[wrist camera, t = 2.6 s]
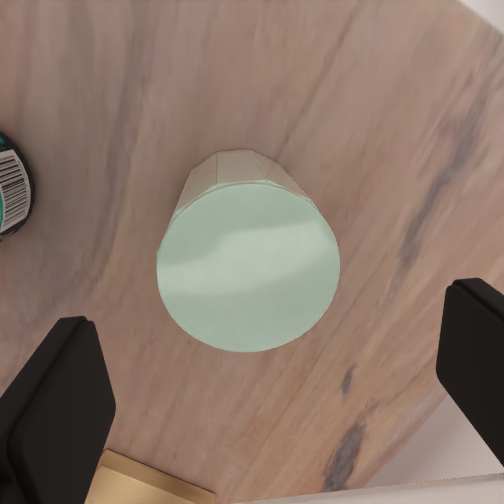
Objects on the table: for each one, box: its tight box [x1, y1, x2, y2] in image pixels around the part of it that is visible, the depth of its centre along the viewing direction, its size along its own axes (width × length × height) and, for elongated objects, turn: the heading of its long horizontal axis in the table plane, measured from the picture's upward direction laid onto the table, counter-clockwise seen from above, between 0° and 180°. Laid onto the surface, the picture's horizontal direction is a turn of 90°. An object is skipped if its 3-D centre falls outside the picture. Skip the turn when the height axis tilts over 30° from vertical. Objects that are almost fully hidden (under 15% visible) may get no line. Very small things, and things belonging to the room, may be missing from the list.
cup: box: [156, 149, 340, 352], centre depth 19 cm, size 7×7×10 cm
